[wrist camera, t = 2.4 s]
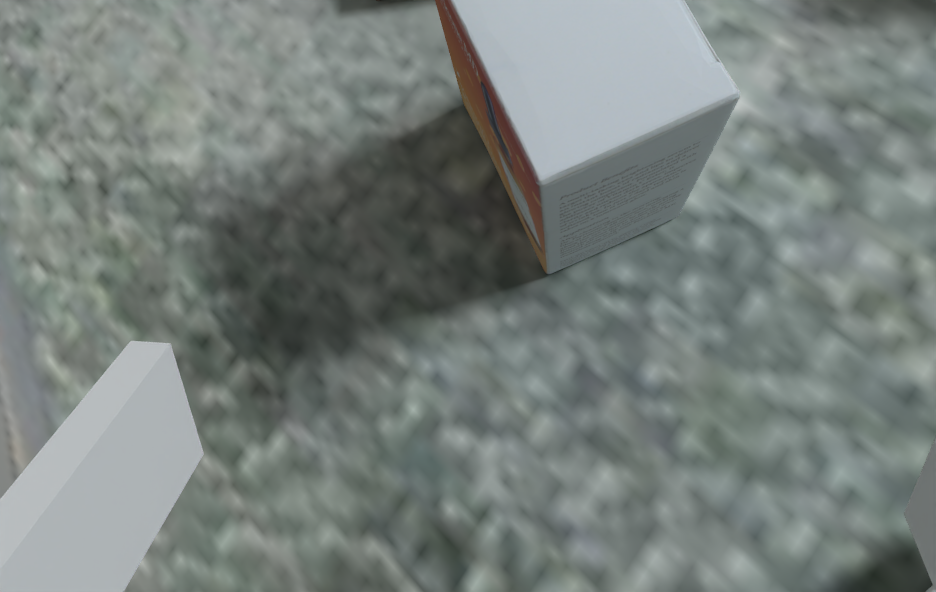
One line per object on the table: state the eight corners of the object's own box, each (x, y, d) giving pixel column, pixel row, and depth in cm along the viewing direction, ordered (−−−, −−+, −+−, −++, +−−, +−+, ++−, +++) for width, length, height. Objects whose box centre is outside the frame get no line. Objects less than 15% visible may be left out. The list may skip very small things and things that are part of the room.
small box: (461, 103, 31) (410, -69, 21) (590, 43, 31) (603, -159, 21) (545, 281, 29) (534, 188, 19) (683, 219, 29) (746, 92, 19)
